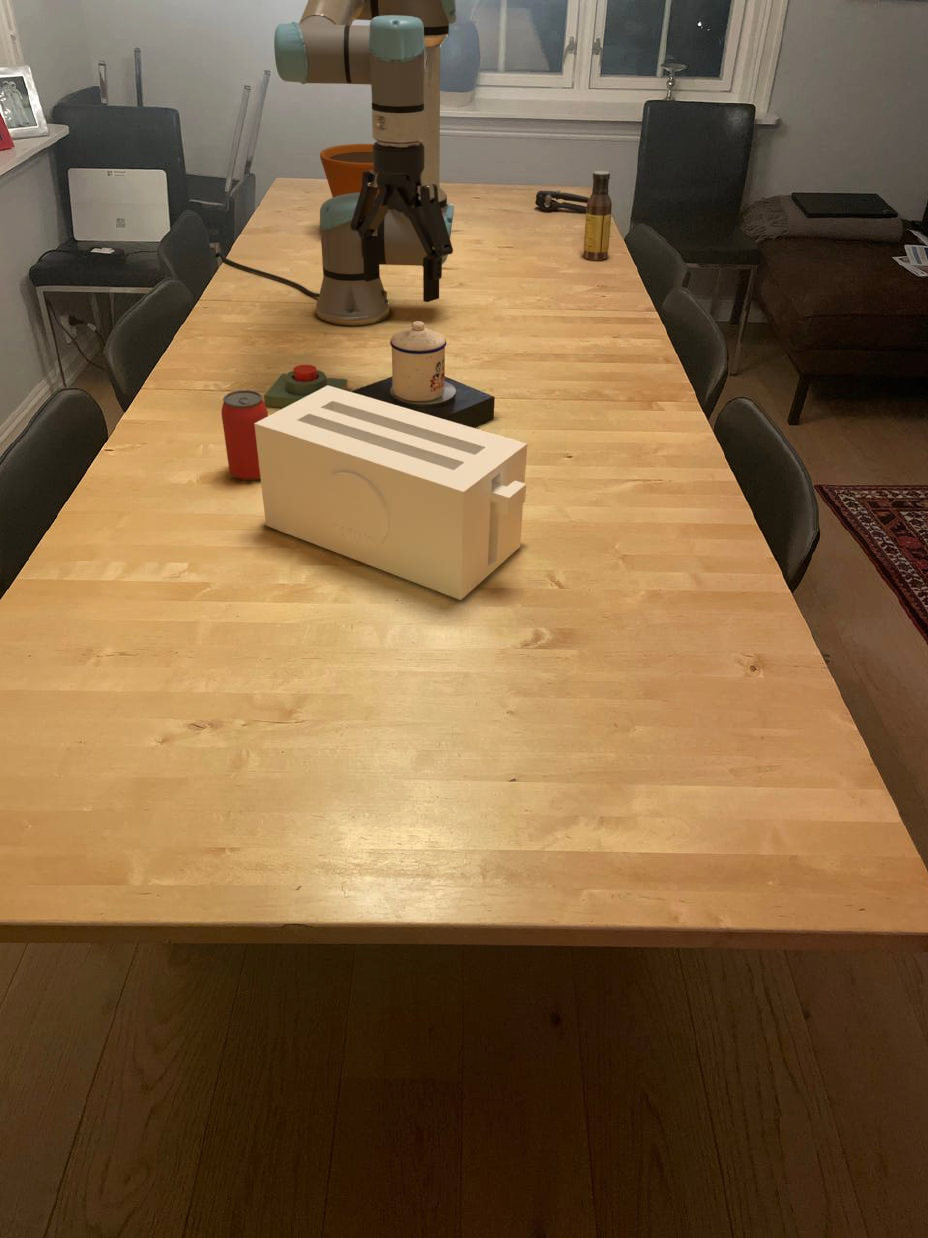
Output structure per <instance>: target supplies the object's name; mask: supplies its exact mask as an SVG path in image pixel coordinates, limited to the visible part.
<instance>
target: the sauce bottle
mask: <svg viewBox="0 0 928 1238" xmlns="http://www.w3.org/2000/svg"><path fill="white" fill-rule="evenodd" d="M610 179H611V173H610V171H607V170H595V171H593V172H592V190H591V191H592V193H591V194H590V196H589V197H588V198H589V199H588V202H587V203H586V207H587V208H586V213H585V223H584V237H583V239H584V240H583V258H585V259H586V260H589V261H603V260H605V259H607V258H608V254H609V253H608V252H609V248H610V238H611V237H610V235H611V225H612V205H613V203H612V199H611V197H610V195H609V182H610Z"/></svg>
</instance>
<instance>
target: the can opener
mask: <svg viewBox="0 0 928 1238" xmlns="http://www.w3.org/2000/svg"><path fill="white" fill-rule="evenodd" d="M535 195H536V196H535V201H534V202H535V205H536V206H537V207H539V208H540V209H541V210H543V211H546V212H550V211H554V210H558V209H563V210H564V209H565V210H570V211H573V212H578V213H581V214H582V213H584V214H586V208H587V205H586V206H585V205H581V204H577V203H582V204H587V202H588V199H589V198H590V197H588V196H584V195H580V194H575V193H570V192H564V191H563V192H561V190H560V189H558V190H556V191H555V190H539V191H537V192H536V193H535ZM557 200H562V202H558V201H557ZM566 201H567V202H566ZM571 202H574V203H571ZM575 202H576V203H575Z"/></svg>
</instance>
